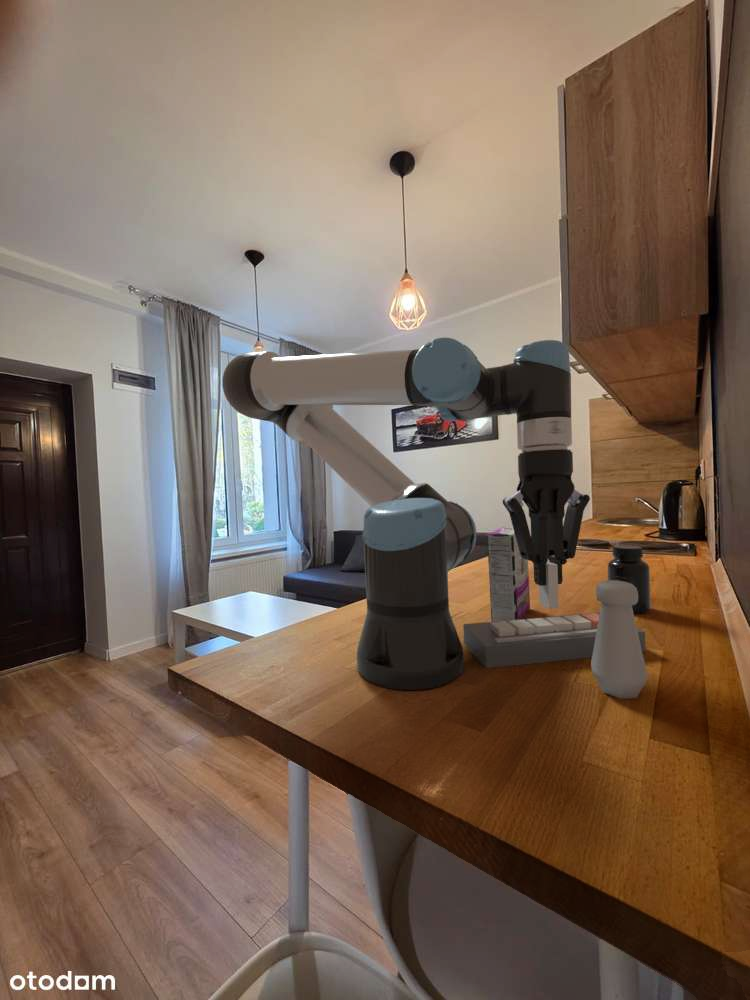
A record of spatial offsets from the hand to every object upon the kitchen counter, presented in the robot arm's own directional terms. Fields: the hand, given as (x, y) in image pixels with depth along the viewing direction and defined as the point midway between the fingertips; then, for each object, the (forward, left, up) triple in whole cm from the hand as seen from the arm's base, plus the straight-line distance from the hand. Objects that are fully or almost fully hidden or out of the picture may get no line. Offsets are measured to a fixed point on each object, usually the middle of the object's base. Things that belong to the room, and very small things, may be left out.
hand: (548, 605), depth 59 cm
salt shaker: (+1, -13, -7) cm, 15 cm away
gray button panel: (0, 0, -6) cm, 6 cm away
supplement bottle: (+24, +13, -7) cm, 28 cm away
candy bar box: (+1, +15, -7) cm, 16 cm away
